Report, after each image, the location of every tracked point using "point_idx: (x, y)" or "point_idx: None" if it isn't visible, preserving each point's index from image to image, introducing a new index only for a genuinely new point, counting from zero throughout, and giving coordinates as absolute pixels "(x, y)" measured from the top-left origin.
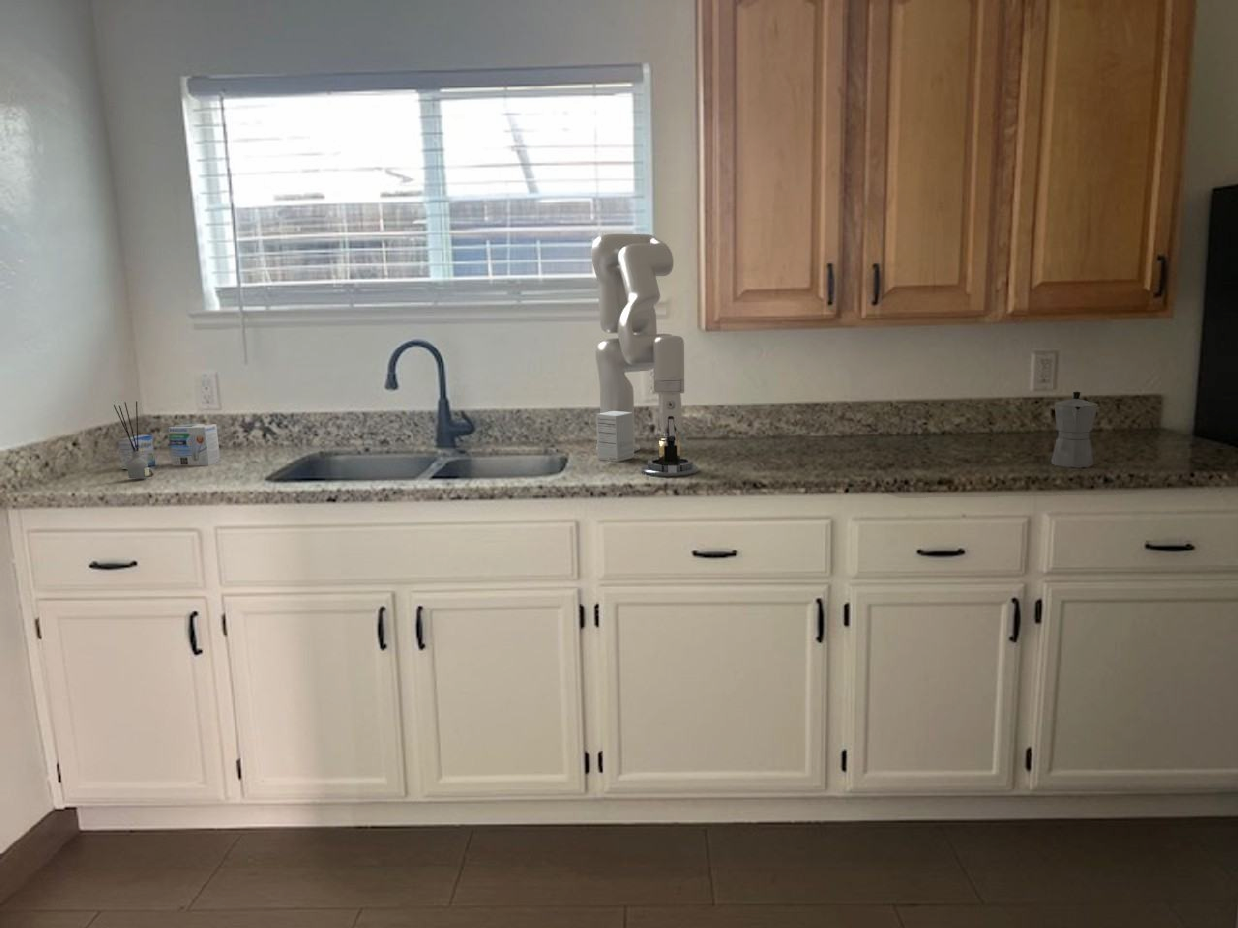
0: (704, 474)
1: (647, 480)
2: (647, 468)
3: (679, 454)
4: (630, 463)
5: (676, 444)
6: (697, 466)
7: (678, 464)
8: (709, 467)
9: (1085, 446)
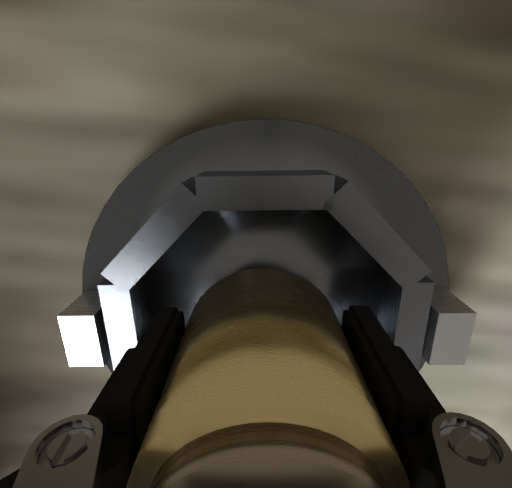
0: (395, 86)
1: (468, 413)
2: None
3: (301, 304)
4: (16, 461)
5: (499, 438)
6: (242, 122)
7: (401, 291)
8: (125, 7)
9: None
